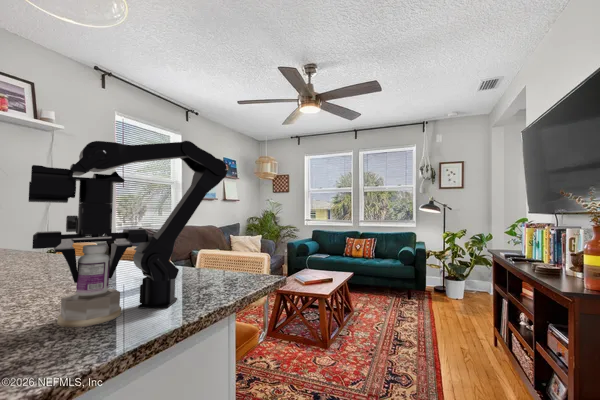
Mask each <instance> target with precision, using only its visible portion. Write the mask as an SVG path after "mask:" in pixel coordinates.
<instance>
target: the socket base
mask: <svg viewBox="0 0 600 400" xmlns="http://www.w3.org/2000/svg"><path fill="white" fill-rule="evenodd" d="M120 303H121V291H119V290H117V289H115V288H108V291H107V292H106V293H103V294H99V295H93V296H79V295H77V293H76V292H72V293H70V294H67V295H65V296H62V297H61V301H60V314H59V315H58V316H57V320H56V321H57V322H56V323H57V325H58V326H60V327H62V328H63V327H64V328H84V327H89V326H96V325H100V324H103V323H106V322H110V321H113V320H115V319H116V317H117V318H118V317H119V316H121V314H122V306H121V305H120Z"/></svg>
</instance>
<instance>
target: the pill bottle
mask: <svg viewBox="0 0 600 400" xmlns="http://www.w3.org/2000/svg"><path fill="white" fill-rule="evenodd" d="M107 247H108V245H107V244H86V245H83V246H82V253H83V255H81V256H80V257H79V258H78V259H77V274H78V278H77V283H76V287H75V289H76V293H77V295H79V296H93V295H99V294H103V293H106V292H107V291H108V289H110V288H109V285H110V284H109V283H110V279H109V269H110V257H111V256H109V255H108V254H106V252H107V250H108V249H107Z"/></svg>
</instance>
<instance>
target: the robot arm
mask: <svg viewBox="0 0 600 400" xmlns="http://www.w3.org/2000/svg"><path fill="white" fill-rule="evenodd" d="M78 157H79V160H78V161H77V162H76V163H72V164H71V165H70V167H69V168H60V167H50V166H49V167H48V166H44V165H36V164H33V165H31V170H30V171H31V172H30V173H31V176H30V181H29V183H28V184H29V185H28V203H52V204H53V203H54V204H55V203H58V204H59V203H61V204H62V203H63V204H67V203H68V202H69V199H70V198H71V199H76V193H77V182H79V191H78V192H79V193H78V211H77V213H78V215H66V219H65V222H66V223H65V231H66V234H63V233H62V231H61V230H58V231H57V230H56V231H55V230H51V231H37V232H35V233H34V234H33V235H32V250H33V249H35V250H39V249H40V250H41V249H53V251H54V253H61V254H62V255H63V257H64V259H65V261H66V264H67V265H68V268H69V271H70V275H71V277H72V280H73V282H74V284H77V278H78V274H77V268H78V263H77V255H76V248H75V247H74V244H81V243H98V242H99V243H100V242H101V243H102V242H114V243H111V244H110V245H111V248H110V249H111V251H110V256H109V257H110V269H109V280H110V279H112V278H113V276H114V274H115V272H116V269H117V267H118V265H119V263H120V261H121V260H122V257H123V255H124V254H125V252H126V250H127V249H128V248H132V247H133V244H138V245H137V246H136V247H134V249H133V250H134V251H135V252H134V254H133V257H132V259H133V264H134V265H135V266H136V268H137V269H139V270H140V271H141V273H142V275H143V276H144V277H142V280H141V281H142V284H140V285H139V304H138V305H137V309H167V308H169V307H170V306H171V305H172V304H174V303H175V302H176V301H177V300H178V297H176V295H175V294H176V279H177V276H178V275H179V271H180V270H179V268H178V267H177V266H176V265H174V264H173V263H172V262H171V261H170V260H171V257H172V256H173V254H174V250H175V244H176V241H177V239H178V238H179V236H180V235H181V233H182V231H183V230H184V229H185V227H186V226H187V225H188V222H190V219H191V218H192V217H193V215H194V214H195V212H196V211H197V209H198V208H199V206H200V204H201V203H202V202H203V200H204V198H205V197H206V196H207V194H208V193H209V192H210V191H211V190H213V189H214V188H215V187H217V186H218V185H219V184H220V183H221V182H222V181H223V180H224V179H225V178H226V176H227V174H228V168H227V167H228V166H227V165H226V163H225V162H224V161H223V160H222V159H221V158H217V157H215V155H213V154H212V153H210V152H208V151H206V150H204V149H202V148H201V147H199V146H197V145H196V144H195V143H194V142H192V141H190V140H183V141H173V142H163V143H162V142H161V143H160V142H159V143H157V142H156V143H147V144H145V143H144V144H124V143H120V142H115V141H114V142H113V141H105V140H104V141H102V140H93V141H91V142H89V143H87V144H86V145H85V146H84V148H83V149H82V150H81V151H80V153H79V155H78ZM173 159H174V160H175V159H179V160H182V161H183V162H184V163H185V164H186V166H187V167H188V168H189V169H191V171H193V172H194V173H193V175H192V179H191V182H190V183H191V184H190V186H189V188H188V189H187V190H186V192H185V193H184V195H182V198H180V200H179V202H178V203H177V204H176V206H175V207H174V209H173V210H172V212H171V213H170V214H169V216H168V217H167V218H166V220H165V222H164V223H163V224H162V226H161V227H160V228H159V230H158V231H157V232H155V234H153V235H149V233H148V231H147V230H146V229H144V228H123V229H122V232H121V231H120V232H119V231H118V232H112V230H113V203H114V202H113V201H114V184H118V185H119V184H123V183H125V179H124V178H123V177H121V176H120V175H119V173H118V171H116V170H115V171H113V172H112V173H110V174H108V173H107V174H104V173H101V172H105V171H109V170H112V169H116V168H117V169H118V168H121V167H122V166H126V165H130V164H135V163H147V162H155V161H156V162H157V161H165V160H166V161H167V160H173ZM90 172H92V173H93V175H92V177H84V176H83V175H84V174H87V173H90ZM82 176H83V177H82ZM74 232H75V233H74ZM67 233H70V234H67ZM131 243H132V244H131Z"/></svg>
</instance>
